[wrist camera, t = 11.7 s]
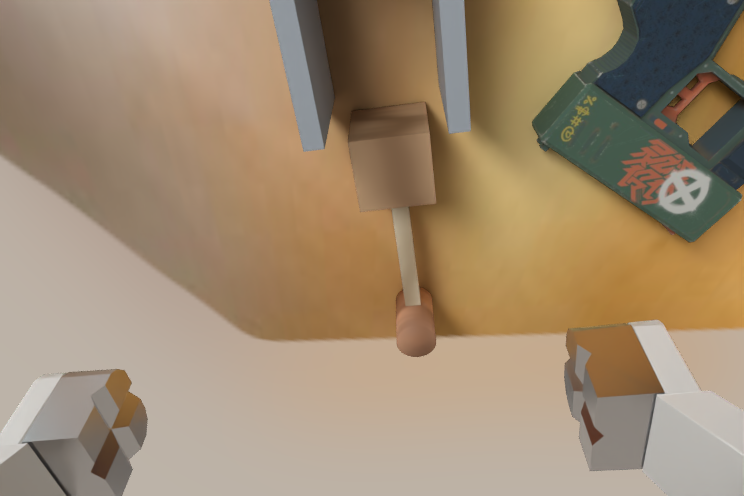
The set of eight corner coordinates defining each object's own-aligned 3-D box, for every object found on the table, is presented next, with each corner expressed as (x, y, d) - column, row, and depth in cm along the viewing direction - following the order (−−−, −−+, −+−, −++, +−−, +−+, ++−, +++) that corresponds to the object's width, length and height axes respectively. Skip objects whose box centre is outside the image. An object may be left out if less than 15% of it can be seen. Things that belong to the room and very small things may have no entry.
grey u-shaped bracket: (317, 99, 40) (303, 151, 34) (271, -129, 33) (242, -120, 26) (457, 81, 39) (470, 131, 33) (441, -158, 32) (455, -157, 25)
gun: (846, 60, 39) (667, 225, 46) (671, -101, 34) (500, 112, 41) (882, 76, 36) (685, 249, 43) (696, -96, 31) (508, 130, 38)
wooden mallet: (386, 316, 51) (386, 359, 47) (351, 111, 41) (347, 143, 36) (445, 310, 50) (450, 353, 46) (425, 101, 40) (429, 132, 36)
